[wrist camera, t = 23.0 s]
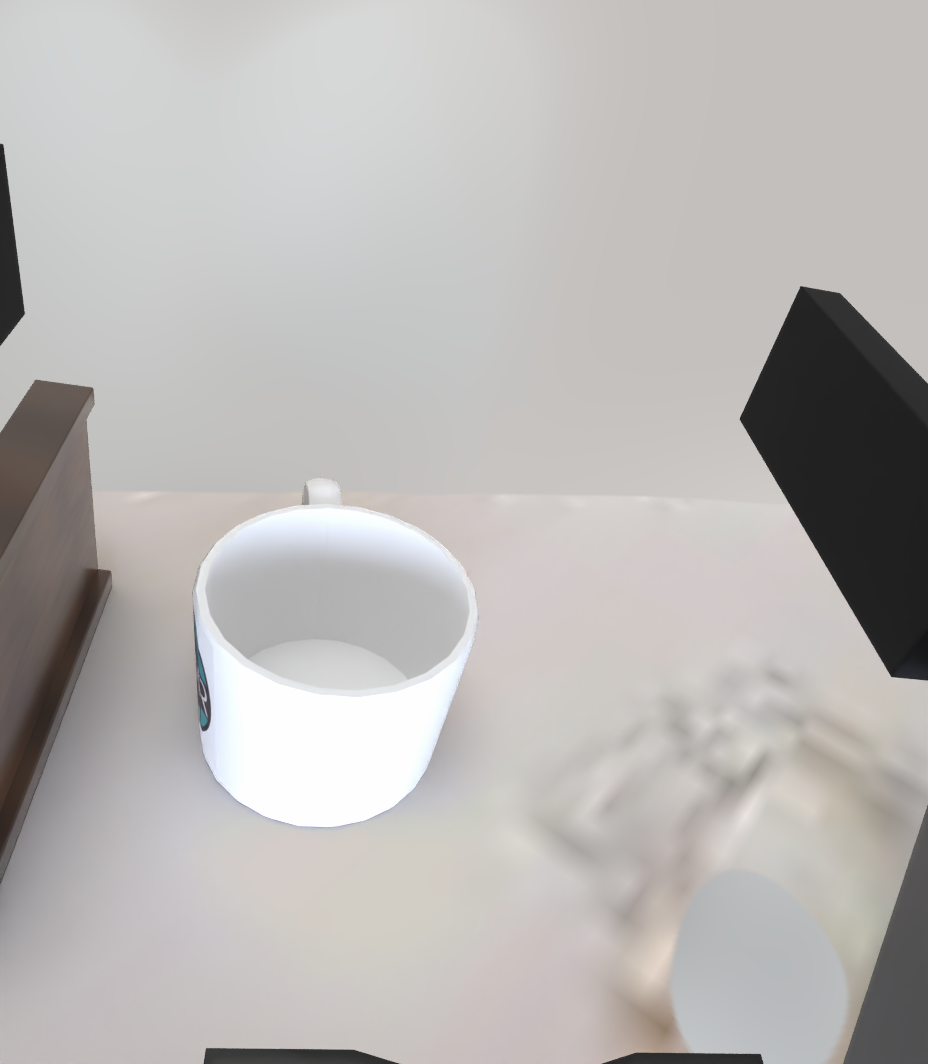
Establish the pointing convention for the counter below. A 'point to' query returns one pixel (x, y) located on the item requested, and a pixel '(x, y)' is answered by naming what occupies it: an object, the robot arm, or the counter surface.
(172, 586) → the counter surface
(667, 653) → the counter surface
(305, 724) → the mug
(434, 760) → the counter surface
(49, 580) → the wall board
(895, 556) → the robot arm
